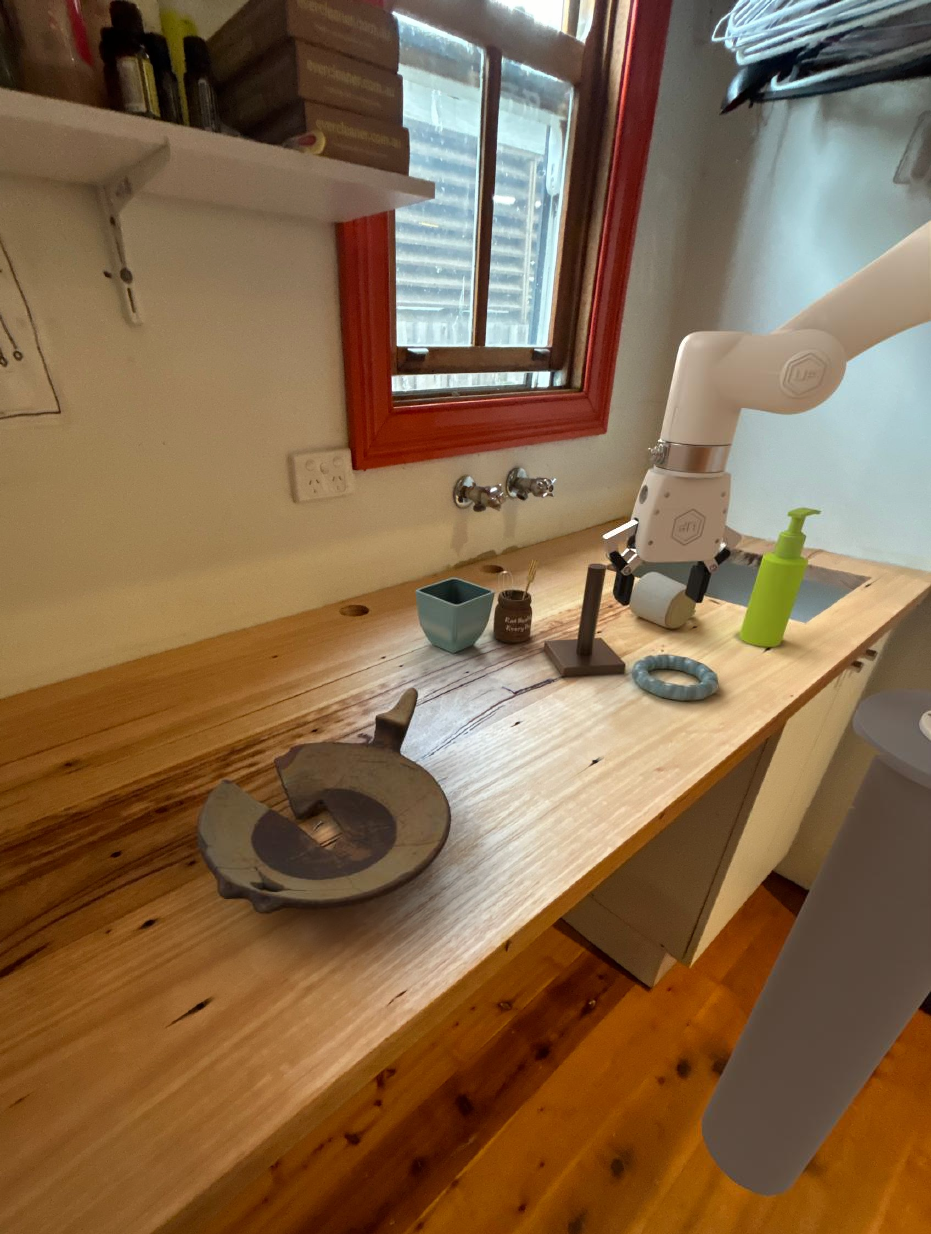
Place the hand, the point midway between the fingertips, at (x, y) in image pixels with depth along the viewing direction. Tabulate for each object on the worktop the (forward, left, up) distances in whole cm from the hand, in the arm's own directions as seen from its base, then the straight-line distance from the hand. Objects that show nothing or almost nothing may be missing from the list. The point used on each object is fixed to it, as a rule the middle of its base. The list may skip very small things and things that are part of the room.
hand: (657, 600), depth 78 cm
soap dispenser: (-26, -12, -13) cm, 31 cm away
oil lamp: (+40, +25, -13) cm, 49 cm away
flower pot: (+23, -16, -13) cm, 31 cm away
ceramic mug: (-14, -21, -13) cm, 28 cm away
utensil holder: (+13, -18, -13) cm, 25 cm away
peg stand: (+5, -8, -12) cm, 15 cm away
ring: (-5, 0, -11) cm, 12 cm away
